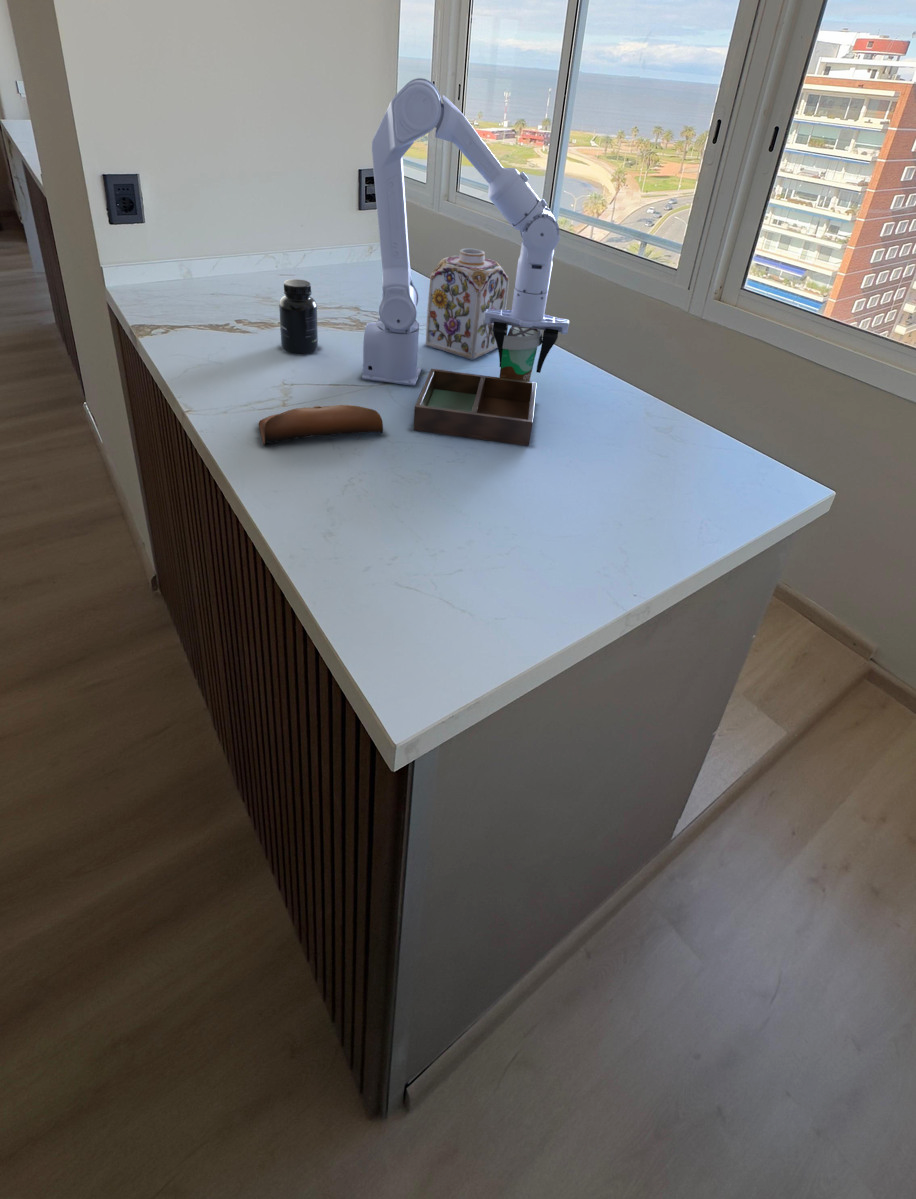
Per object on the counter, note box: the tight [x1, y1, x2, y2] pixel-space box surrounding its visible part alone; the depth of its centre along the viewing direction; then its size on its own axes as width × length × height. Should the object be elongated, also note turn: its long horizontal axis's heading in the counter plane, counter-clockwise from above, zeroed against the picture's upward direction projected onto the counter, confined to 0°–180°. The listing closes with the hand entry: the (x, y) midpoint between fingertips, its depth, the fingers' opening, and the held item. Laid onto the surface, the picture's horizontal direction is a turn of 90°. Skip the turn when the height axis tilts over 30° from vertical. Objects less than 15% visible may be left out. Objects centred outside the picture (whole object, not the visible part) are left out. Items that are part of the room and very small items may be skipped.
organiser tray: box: [413, 368, 537, 447], centre depth 120 cm, size 18×17×4 cm
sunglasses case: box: [258, 404, 384, 445], centre depth 110 cm, size 18×7×7 cm
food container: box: [499, 326, 543, 382], centre depth 130 cm, size 12×6×10 cm, turn 169°
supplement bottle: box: [278, 278, 319, 355], centre depth 134 cm, size 7×7×12 cm
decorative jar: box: [425, 248, 510, 361], centre depth 141 cm, size 12×12×18 cm
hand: (519, 368), depth 131 cm, fingers closed on food container, 6 cm apart
